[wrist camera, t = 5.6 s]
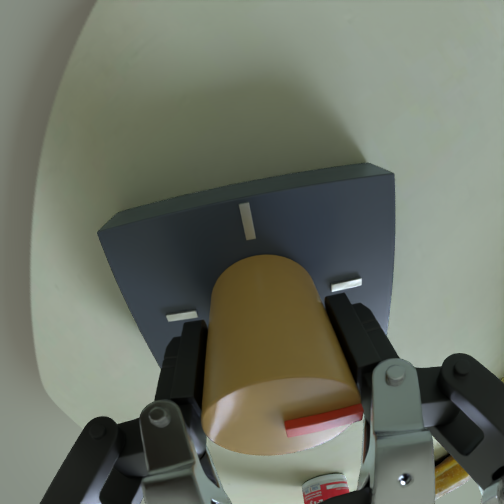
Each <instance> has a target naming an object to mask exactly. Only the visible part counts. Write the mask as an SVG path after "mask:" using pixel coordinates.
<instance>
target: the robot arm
mask: <svg viewBox="0 0 504 504" xmlns="http://www.w3.org/2000/svg"><path fill="white" fill-rule="evenodd" d="M324 302H325V310H326V312H327V314H328V317H329V319H330V322H331V324H332V326H333V329H334V331H335V333H336V336H337V338H338V341H339V343H340V345H341V348H342V350H343V353H344V355H345V358H346V360H347V363H348V365H349V367H350V370H351V372H352V375H353V378H354V380H355V383H356V385H357V388H358V390H359V393H360V396H361V404H362V407H363V409H364V420H363V441H362V457H361V468H360V474H359V479H358V486H357V490H356V491H353V492H349V493H346V494H342V495H338V496H334V497H331V498H329V499H326V500H324V501H322V502H320V503H317V504H435V465H434V449H433V438H432V436H433V437H434V438H435V439H436V440H437V441H438V442H439V443H440V444H441V445H442V446H443V447H444V448H445V450H446V451H447V452H448V453H449V454H450V455H451V456H452V457H453V458H454V459H455V460H456V461H457V462H458V464H459V465H460V466H461V467H462V468H463V469H464V470H465V471H466V472H467V473H468V474H469V475H470V477H471V478H472V479H473V480H474V481H475V482H476V483H477V484H478V485H479V486H480V487H481V488H482V490H483V491H484V493H483V495H482V499H481V504H504V383H503V382H502V381H501V380H500V379H499V378H497V377H496V376H495V375H494V374H493V373H491V372H490V371H489V370H488V369H487V368H485V367H484V366H483V365H482V364H480V363H479V362H478V361H477V360H476V359H474V358H473V357H471V356H470V355H467V354H463V353H457V354H453V355H450V356H449V357H447V358H446V359H445V360H444V362H443V364H442V366H441V367H429V368H416V367H414V366H413V365H412V364H411V363H410V362H408V361H406V360H404V359H400V358H399V356H398V355H397V353H396V351H395V350H394V348H393V346H392V344H391V343H390V341H389V339H388V338H387V336H386V334H385V333H384V331H383V329H382V328H381V326H380V324H379V323H378V321H376V318H375V316H374V314H373V313H372V311H371V310H370V309H369V308H368V307H366V306H365V305H363V304H362V303H360V302H359V303H355V304H351V303H350V301H349V299H348V297H347V295H346V294H345V293H344V292H343V293H339V294H334V295H330V296H326V297H325V299H324ZM207 336H208V327H207V325H206V322H205V320H203V319H202V320H196V321H189V322H184V324H183V328H182V334H181V336H179V337H173V338H172V340H171V341H170V343H169V344H168V345H167V347H166V350H165V354H164V360H163V363H162V369H161V372H160V376H159V381H158V386H157V390H156V395H155V400H154V402H152V403H150V404H148V405H147V406H146V407H145V408H144V409H143V410H142V412H141V414H140V417H139V418H137V419H134V420H131V421H127V422H124V423H120V424H116V423H115V422H114V420H112V419H111V418H109V417H105V416H101V417H97V418H94V419H92V420H91V421H90V422H88V423H87V425H86V426H85V427H84V429H83V431H82V432H81V434H80V436H79V437H78V439H77V441H76V442H75V444H74V446H73V447H72V449H71V451H70V452H69V454H68V455H67V457H66V459H65V460H64V462H63V464H62V465H61V467H60V469H59V471H58V472H57V474H56V476H55V477H54V479H53V481H52V483H51V485H50V486H49V488H48V490H47V492H46V493H45V495H44V497H43V499H42V501H41V502H40V504H140V503H141V501H142V499H143V497H144V501H145V504H232V502H231V501H230V499H229V497H228V496H227V494H226V493H225V491H224V489H223V486H222V484H221V481H220V479H219V476H218V474H217V471H216V468H215V466H214V463H213V460H212V458H211V455H210V452H209V449H208V447H207V445H206V434H205V433H204V431H203V429H202V426H201V411H202V396H203V383H204V370H205V358H206V347H207ZM425 428H426V429H425ZM105 481H106V482H105ZM104 483H105V484H104ZM103 485H104V486H103ZM102 487H103V488H102Z"/></svg>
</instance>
